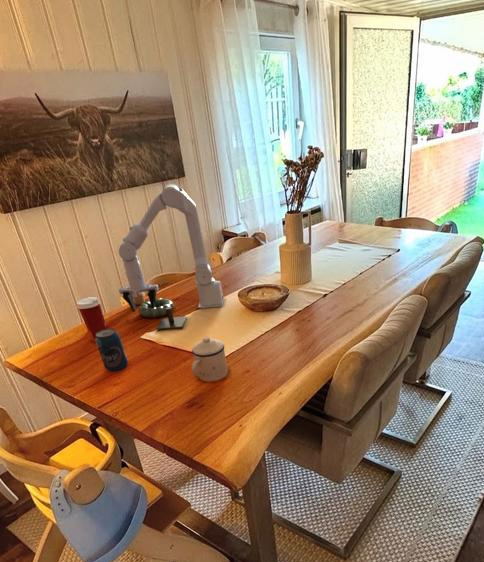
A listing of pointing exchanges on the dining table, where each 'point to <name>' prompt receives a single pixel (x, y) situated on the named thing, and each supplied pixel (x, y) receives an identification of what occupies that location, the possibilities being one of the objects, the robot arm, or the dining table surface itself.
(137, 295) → the sprinkles bottle
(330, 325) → the dining table surface
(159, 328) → the holder
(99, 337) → the soda can
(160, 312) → the ring
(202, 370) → the teacup with lid
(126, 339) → the dining table surface
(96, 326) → the paper cup
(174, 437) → the dining table surface
